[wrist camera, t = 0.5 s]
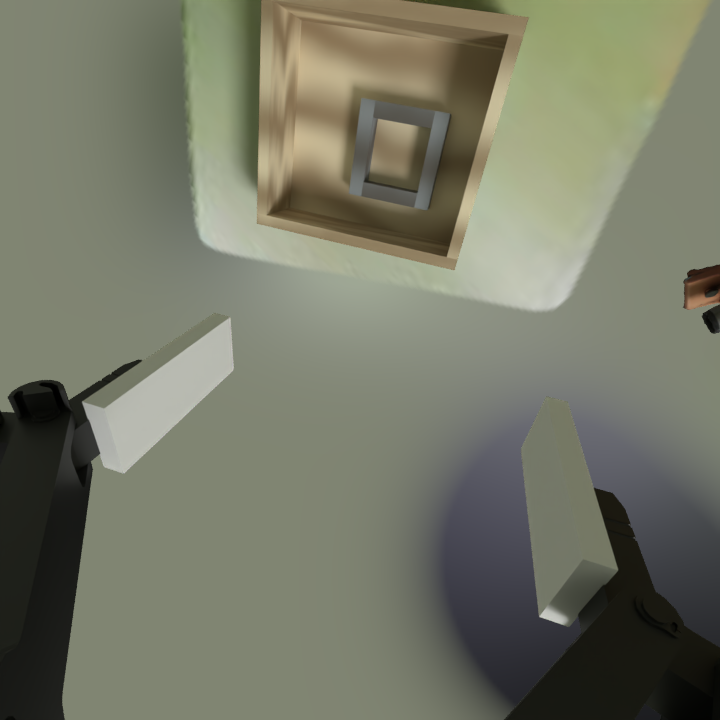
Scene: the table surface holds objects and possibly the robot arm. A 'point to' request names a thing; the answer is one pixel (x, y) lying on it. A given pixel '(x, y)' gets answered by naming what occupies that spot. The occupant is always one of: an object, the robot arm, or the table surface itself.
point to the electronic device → (704, 294)
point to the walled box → (379, 120)
